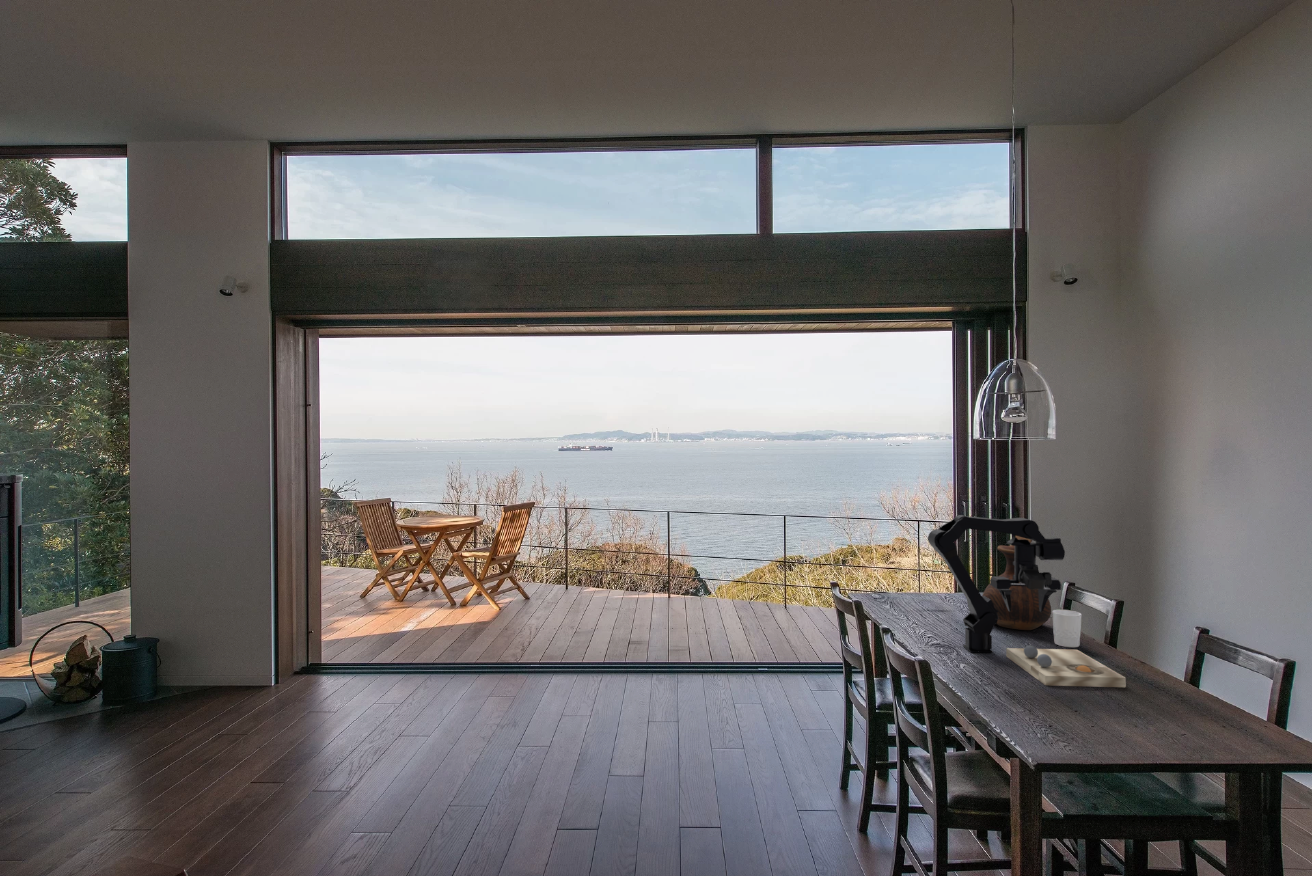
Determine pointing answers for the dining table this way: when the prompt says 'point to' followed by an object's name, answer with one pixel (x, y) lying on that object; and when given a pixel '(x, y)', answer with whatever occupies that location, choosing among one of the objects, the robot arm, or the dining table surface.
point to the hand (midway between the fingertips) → (1025, 611)
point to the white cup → (1066, 627)
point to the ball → (1083, 668)
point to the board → (1067, 668)
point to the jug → (1017, 599)
